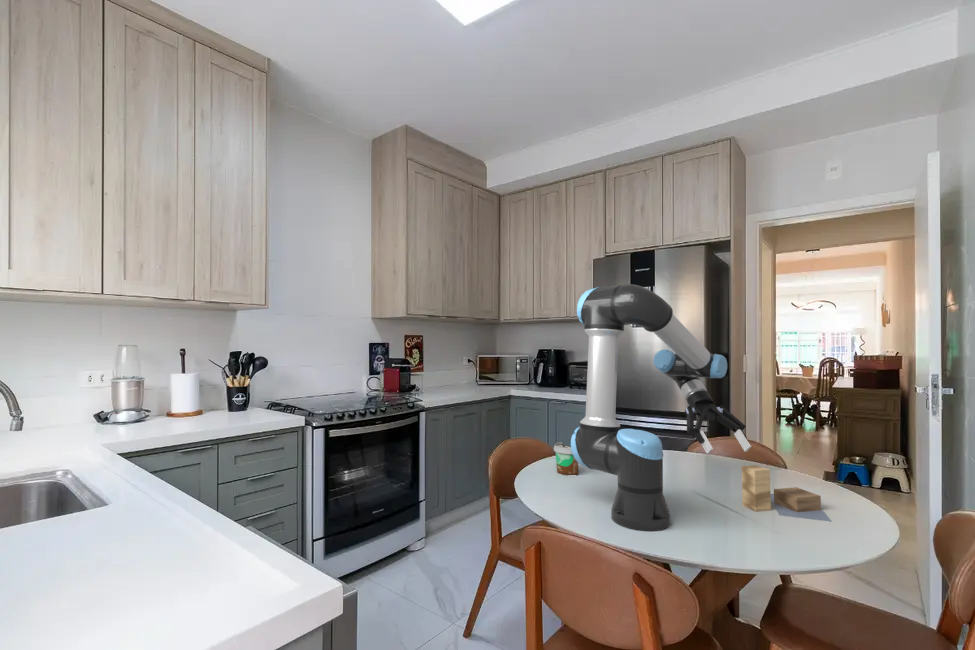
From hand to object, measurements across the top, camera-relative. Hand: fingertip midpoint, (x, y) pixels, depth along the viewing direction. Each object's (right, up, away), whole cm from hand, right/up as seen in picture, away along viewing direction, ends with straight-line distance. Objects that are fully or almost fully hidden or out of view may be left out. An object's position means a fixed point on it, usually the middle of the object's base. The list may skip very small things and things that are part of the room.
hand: (729, 450), depth 145 cm
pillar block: (+2, -14, -11) cm, 18 cm away
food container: (-47, -16, +27) cm, 56 cm away
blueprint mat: (+15, -14, -10) cm, 23 cm away
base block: (+15, -14, -10) cm, 22 cm away
